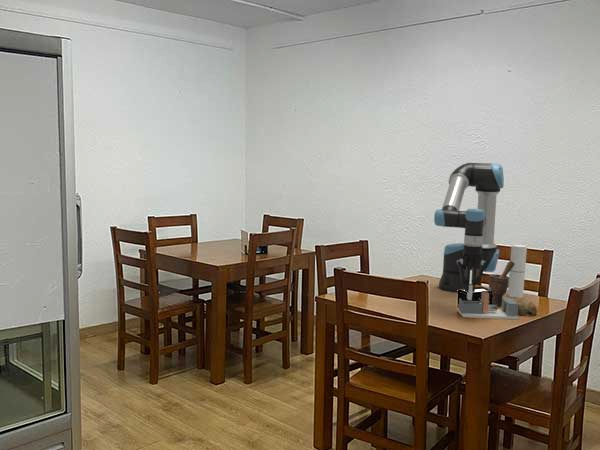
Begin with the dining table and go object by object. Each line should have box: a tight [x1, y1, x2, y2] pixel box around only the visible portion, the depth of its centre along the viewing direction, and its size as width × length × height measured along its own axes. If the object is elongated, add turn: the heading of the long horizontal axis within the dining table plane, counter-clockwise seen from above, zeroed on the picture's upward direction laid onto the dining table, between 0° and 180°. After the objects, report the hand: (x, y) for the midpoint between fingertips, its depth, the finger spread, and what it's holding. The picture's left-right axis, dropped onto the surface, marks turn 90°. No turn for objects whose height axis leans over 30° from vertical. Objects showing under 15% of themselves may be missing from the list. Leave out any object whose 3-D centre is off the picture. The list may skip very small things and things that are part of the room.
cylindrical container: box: [507, 244, 528, 299], centre depth 301 cm, size 7×7×25 cm
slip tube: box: [480, 290, 498, 313], centre depth 264 cm, size 4×14×9 cm, turn 88°
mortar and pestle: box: [488, 260, 514, 306], centre depth 285 cm, size 12×9×20 cm
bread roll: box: [516, 299, 538, 317], centre depth 269 cm, size 10×10×8 cm
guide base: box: [456, 297, 519, 320], centre depth 264 cm, size 12×23×6 cm, turn 88°
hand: (469, 299), depth 264 cm, fingers closed
